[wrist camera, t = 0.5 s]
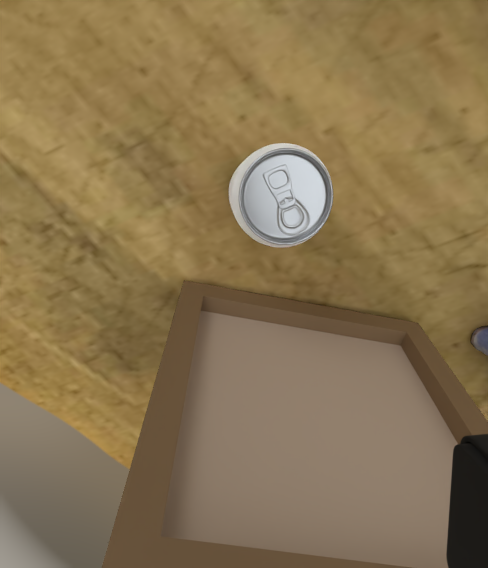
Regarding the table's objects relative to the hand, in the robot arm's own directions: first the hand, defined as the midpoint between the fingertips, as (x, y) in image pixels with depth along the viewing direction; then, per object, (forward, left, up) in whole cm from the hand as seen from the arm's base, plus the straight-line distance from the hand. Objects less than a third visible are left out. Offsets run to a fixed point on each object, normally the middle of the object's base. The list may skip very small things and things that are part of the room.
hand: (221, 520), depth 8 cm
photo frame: (+5, +12, -30) cm, 33 cm away
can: (-7, 0, -30) cm, 31 cm away
